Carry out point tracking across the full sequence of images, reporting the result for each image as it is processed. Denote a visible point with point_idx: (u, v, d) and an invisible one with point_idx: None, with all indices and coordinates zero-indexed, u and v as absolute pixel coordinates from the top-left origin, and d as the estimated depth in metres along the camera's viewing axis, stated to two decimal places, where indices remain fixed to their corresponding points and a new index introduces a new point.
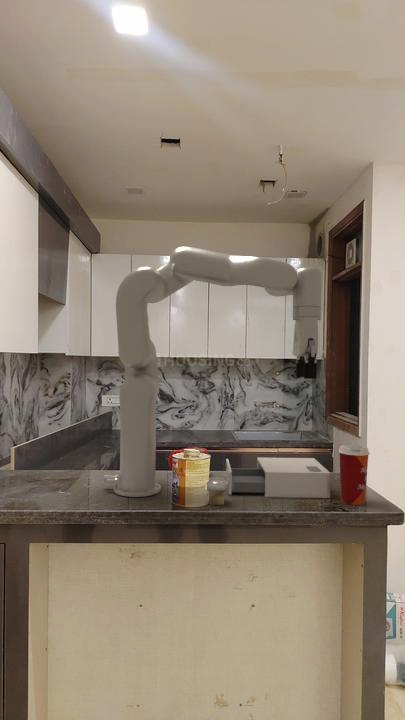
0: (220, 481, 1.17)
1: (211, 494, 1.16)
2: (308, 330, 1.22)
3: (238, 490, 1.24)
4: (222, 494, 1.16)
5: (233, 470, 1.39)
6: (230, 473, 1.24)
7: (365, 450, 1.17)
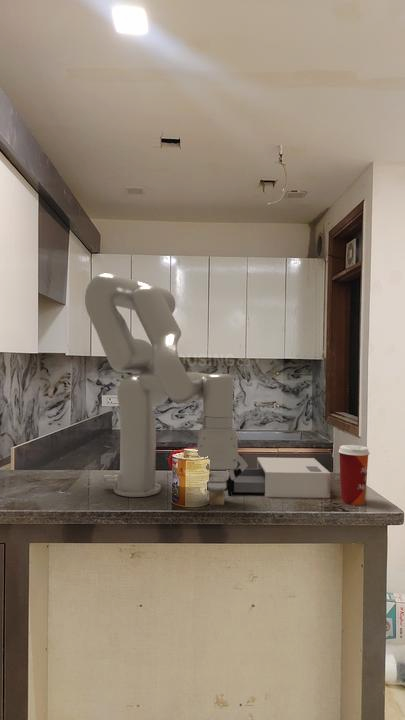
0: (220, 481, 1.17)
1: (211, 494, 1.16)
2: None
3: (238, 490, 1.24)
4: (222, 494, 1.16)
5: (233, 470, 1.39)
6: None
7: (365, 450, 1.17)
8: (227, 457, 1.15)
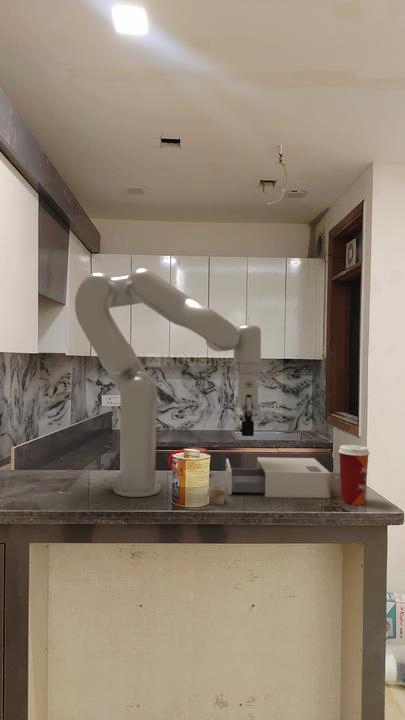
0: None
1: (211, 494, 1.16)
2: None
3: (238, 490, 1.24)
4: (222, 494, 1.16)
5: (233, 470, 1.39)
6: (230, 473, 1.24)
7: (365, 450, 1.17)
8: None
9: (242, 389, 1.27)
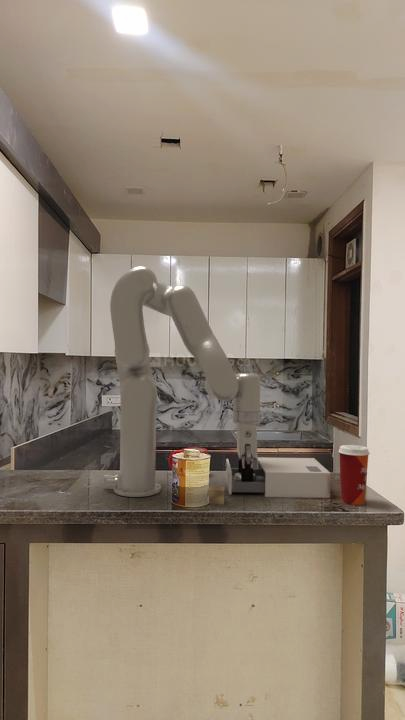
0: None
1: (211, 494, 1.16)
2: None
3: (238, 490, 1.24)
4: (222, 494, 1.16)
5: (233, 470, 1.39)
6: (230, 473, 1.24)
7: (365, 450, 1.17)
8: None
9: (241, 438, 1.27)
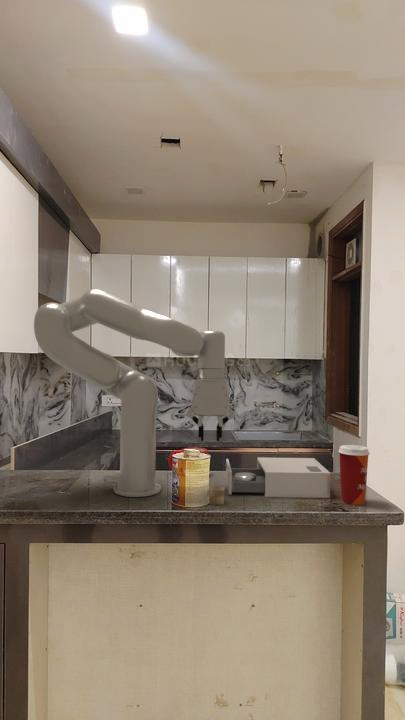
0: (248, 474, 1.33)
1: (211, 494, 1.16)
2: None
3: (238, 490, 1.24)
4: (222, 494, 1.16)
5: (233, 470, 1.39)
6: (230, 473, 1.24)
7: (365, 450, 1.17)
8: (219, 404, 1.29)
9: None
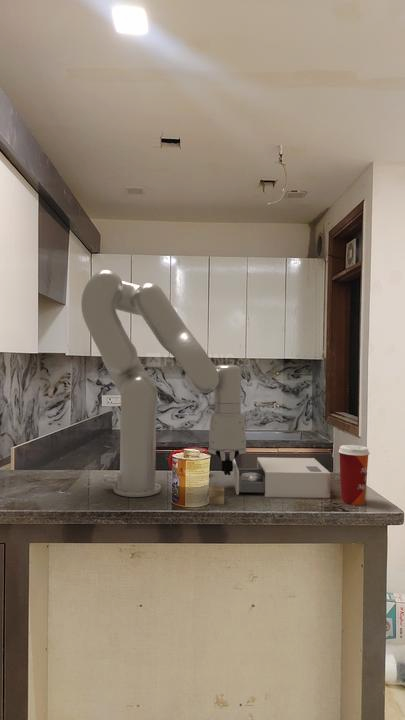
0: (255, 474, 1.33)
1: (211, 494, 1.16)
2: None
3: (246, 490, 1.24)
4: (222, 494, 1.16)
5: (239, 470, 1.39)
6: (237, 473, 1.24)
7: (365, 450, 1.17)
8: (236, 439, 1.29)
9: None
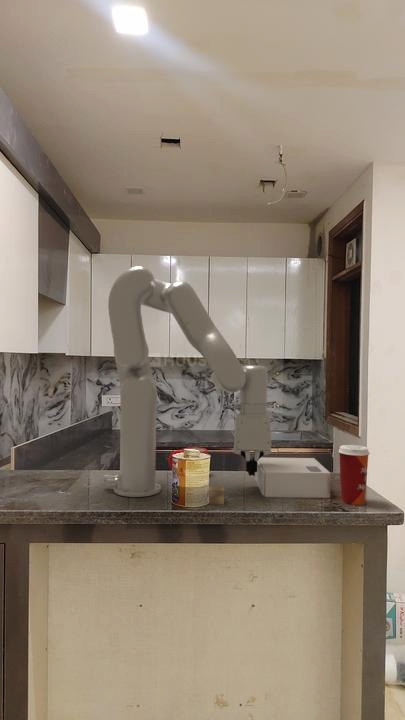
0: None
1: (211, 494, 1.16)
2: None
3: None
4: (222, 494, 1.16)
5: None
6: (263, 473, 1.24)
7: (365, 450, 1.17)
8: (262, 439, 1.29)
9: None
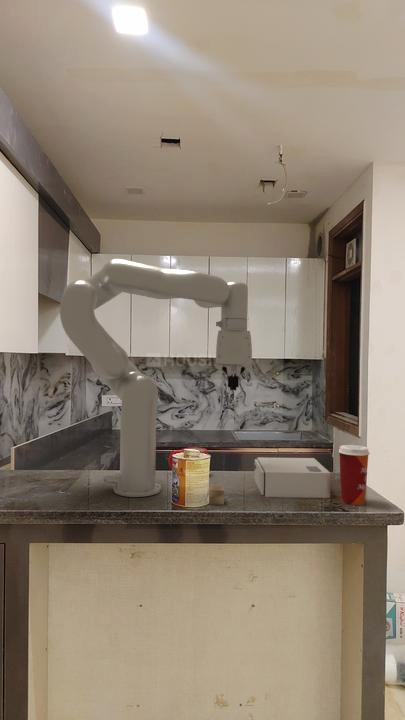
0: None
1: (211, 494, 1.16)
2: None
3: None
4: (222, 494, 1.16)
5: None
6: (262, 473, 1.24)
7: (365, 450, 1.17)
8: (243, 354, 1.32)
9: None
